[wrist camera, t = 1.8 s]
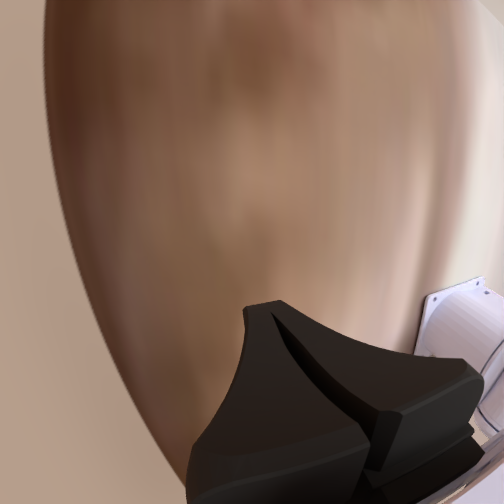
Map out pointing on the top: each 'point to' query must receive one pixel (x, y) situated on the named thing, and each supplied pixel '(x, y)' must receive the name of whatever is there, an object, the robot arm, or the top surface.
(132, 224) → the top surface
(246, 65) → the top surface
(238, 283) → the top surface
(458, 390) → the robot arm
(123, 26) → the top surface
